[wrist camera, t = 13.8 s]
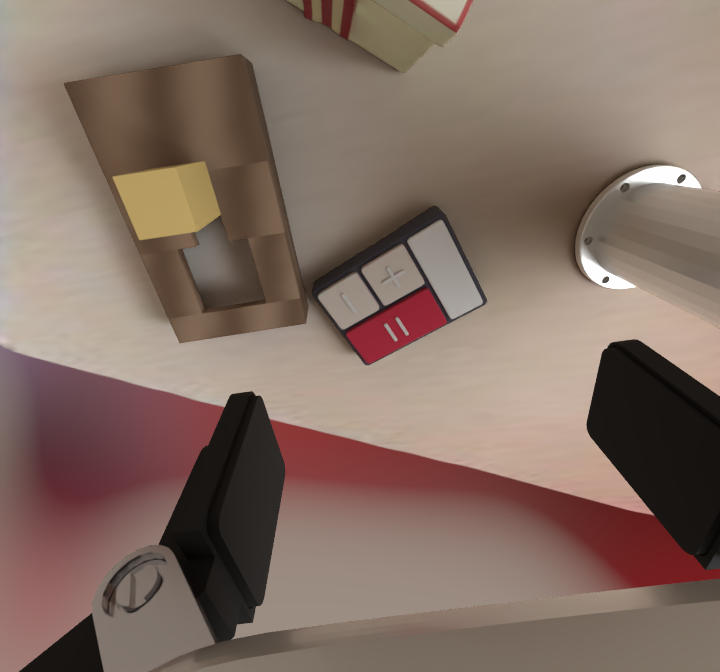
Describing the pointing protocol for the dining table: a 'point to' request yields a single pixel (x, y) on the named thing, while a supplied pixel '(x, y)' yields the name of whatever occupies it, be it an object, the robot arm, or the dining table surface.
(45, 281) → the dining table surface
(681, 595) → the robot arm
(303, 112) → the dining table surface
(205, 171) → the peg
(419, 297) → the calculator
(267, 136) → the keyhole board
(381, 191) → the dining table surface
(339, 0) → the gift box
